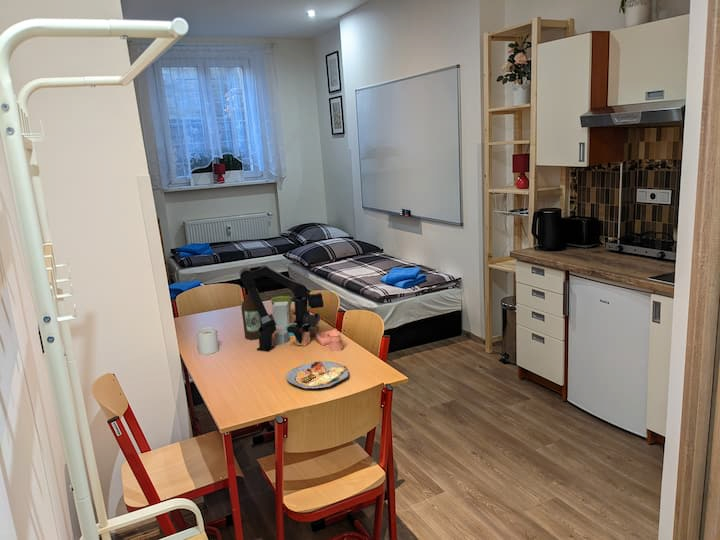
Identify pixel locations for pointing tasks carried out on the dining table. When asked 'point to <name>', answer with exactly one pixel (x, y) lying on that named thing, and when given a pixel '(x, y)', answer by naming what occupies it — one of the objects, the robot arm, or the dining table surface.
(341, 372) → the food plate
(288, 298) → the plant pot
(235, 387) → the dining table surface
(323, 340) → the pottery
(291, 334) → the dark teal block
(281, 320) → the supplement box
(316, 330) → the walnut block
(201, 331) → the mug
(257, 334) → the olive oil
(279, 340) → the slate grey block
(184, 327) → the dining table surface
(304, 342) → the terracotta block
